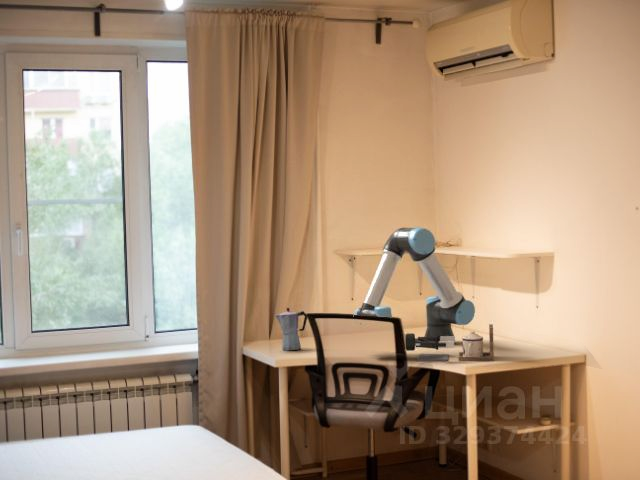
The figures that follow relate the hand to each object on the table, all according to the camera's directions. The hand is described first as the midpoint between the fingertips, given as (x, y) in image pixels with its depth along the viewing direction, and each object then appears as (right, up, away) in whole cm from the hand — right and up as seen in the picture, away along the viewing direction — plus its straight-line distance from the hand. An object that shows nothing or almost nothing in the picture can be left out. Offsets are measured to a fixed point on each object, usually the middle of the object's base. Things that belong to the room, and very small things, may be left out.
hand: (454, 342), depth 373 cm
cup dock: (+9, -7, -1) cm, 12 cm away
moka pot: (-72, -8, +37) cm, 81 cm away
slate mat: (-9, -7, +2) cm, 12 cm away
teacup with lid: (+8, -7, -1) cm, 11 cm away
